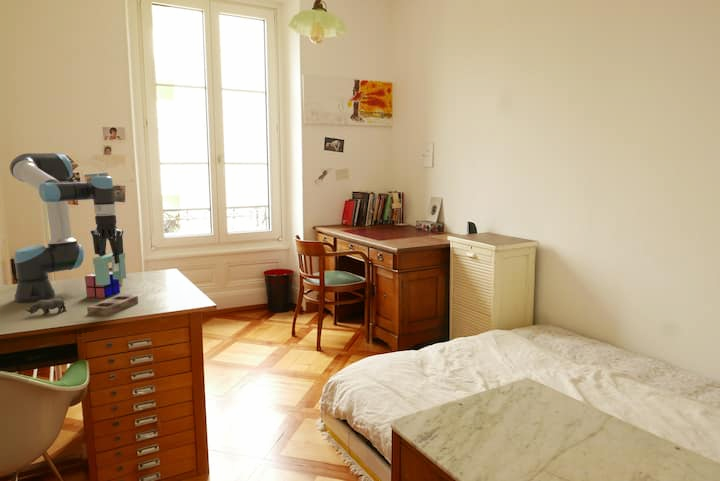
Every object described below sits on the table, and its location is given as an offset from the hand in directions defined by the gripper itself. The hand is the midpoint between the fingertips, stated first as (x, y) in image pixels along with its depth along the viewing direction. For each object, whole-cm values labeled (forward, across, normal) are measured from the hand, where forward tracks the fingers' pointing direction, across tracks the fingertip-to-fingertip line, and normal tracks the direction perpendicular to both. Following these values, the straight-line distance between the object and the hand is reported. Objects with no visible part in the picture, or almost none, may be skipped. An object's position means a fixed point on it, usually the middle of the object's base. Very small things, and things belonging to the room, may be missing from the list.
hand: (110, 271), depth 200 cm
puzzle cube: (+16, -19, +18) cm, 31 cm away
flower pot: (+16, -25, +34) cm, 45 cm away
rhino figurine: (+16, -23, -11) cm, 30 cm away
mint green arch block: (+4, 0, 0) cm, 4 cm away
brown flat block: (+16, 0, 0) cm, 16 cm away
